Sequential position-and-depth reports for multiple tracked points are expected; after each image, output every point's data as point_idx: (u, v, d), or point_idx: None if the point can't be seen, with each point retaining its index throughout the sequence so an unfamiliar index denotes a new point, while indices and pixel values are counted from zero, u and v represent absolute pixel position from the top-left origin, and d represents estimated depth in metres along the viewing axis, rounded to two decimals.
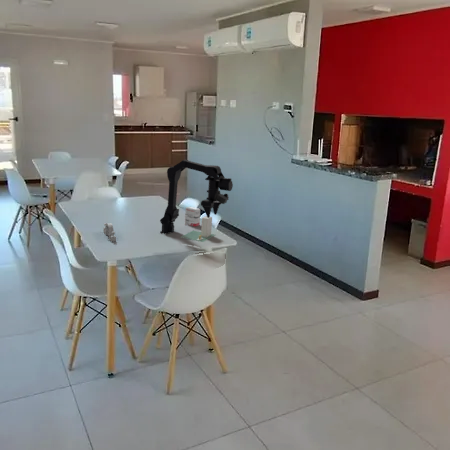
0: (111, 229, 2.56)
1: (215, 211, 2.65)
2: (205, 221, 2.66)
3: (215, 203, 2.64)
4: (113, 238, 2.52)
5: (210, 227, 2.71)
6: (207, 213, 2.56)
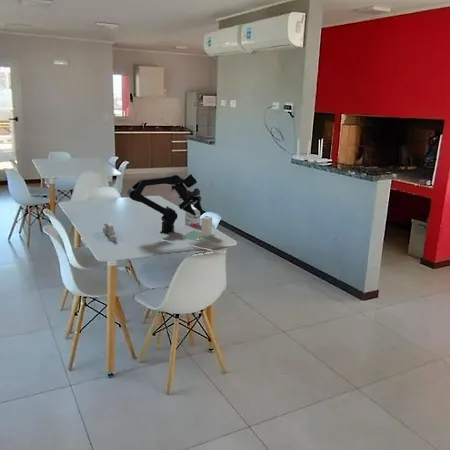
0: (111, 229, 2.56)
1: (200, 209, 2.74)
2: (205, 221, 2.66)
3: (195, 204, 2.75)
4: (113, 238, 2.52)
5: (210, 227, 2.71)
6: (191, 212, 2.65)
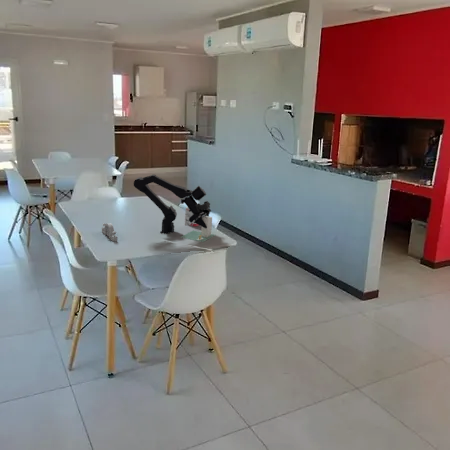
0: (111, 229, 2.56)
1: None
2: (205, 221, 2.66)
3: None
4: (114, 238, 2.52)
5: (210, 227, 2.71)
6: (202, 225, 2.66)
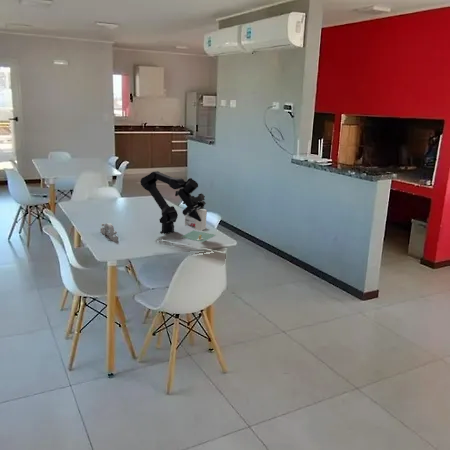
0: (112, 229, 2.57)
1: None
2: (199, 214, 2.57)
3: None
4: (115, 238, 2.53)
5: (205, 220, 2.62)
6: (196, 218, 2.57)
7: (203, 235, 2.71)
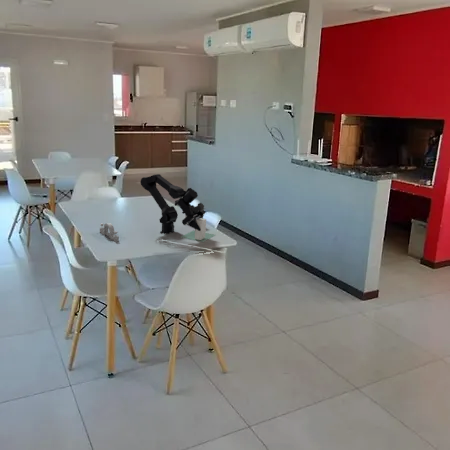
0: (112, 229, 2.57)
1: None
2: (198, 224, 2.59)
3: None
4: (116, 237, 2.53)
5: (204, 230, 2.64)
6: (196, 227, 2.59)
7: None
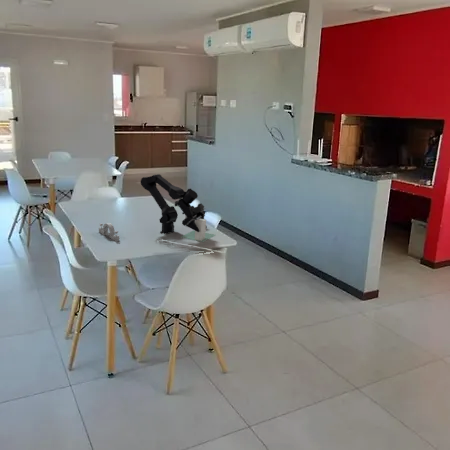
0: (112, 229, 2.57)
1: None
2: (198, 224, 2.59)
3: None
4: (116, 237, 2.53)
5: (204, 230, 2.64)
6: (195, 228, 2.58)
7: None
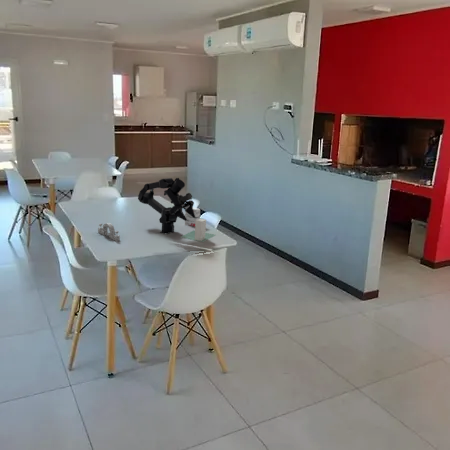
0: (112, 229, 2.57)
1: (192, 214, 2.69)
2: (198, 224, 2.59)
3: (188, 209, 2.70)
4: (117, 237, 2.54)
5: (204, 230, 2.64)
6: (182, 217, 2.61)
7: None
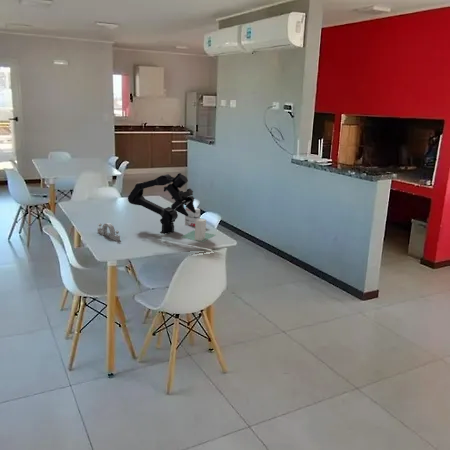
0: (112, 229, 2.57)
1: (193, 210, 2.70)
2: (198, 224, 2.59)
3: (188, 204, 2.71)
4: (117, 237, 2.54)
5: (204, 230, 2.64)
6: (183, 213, 2.62)
7: None
